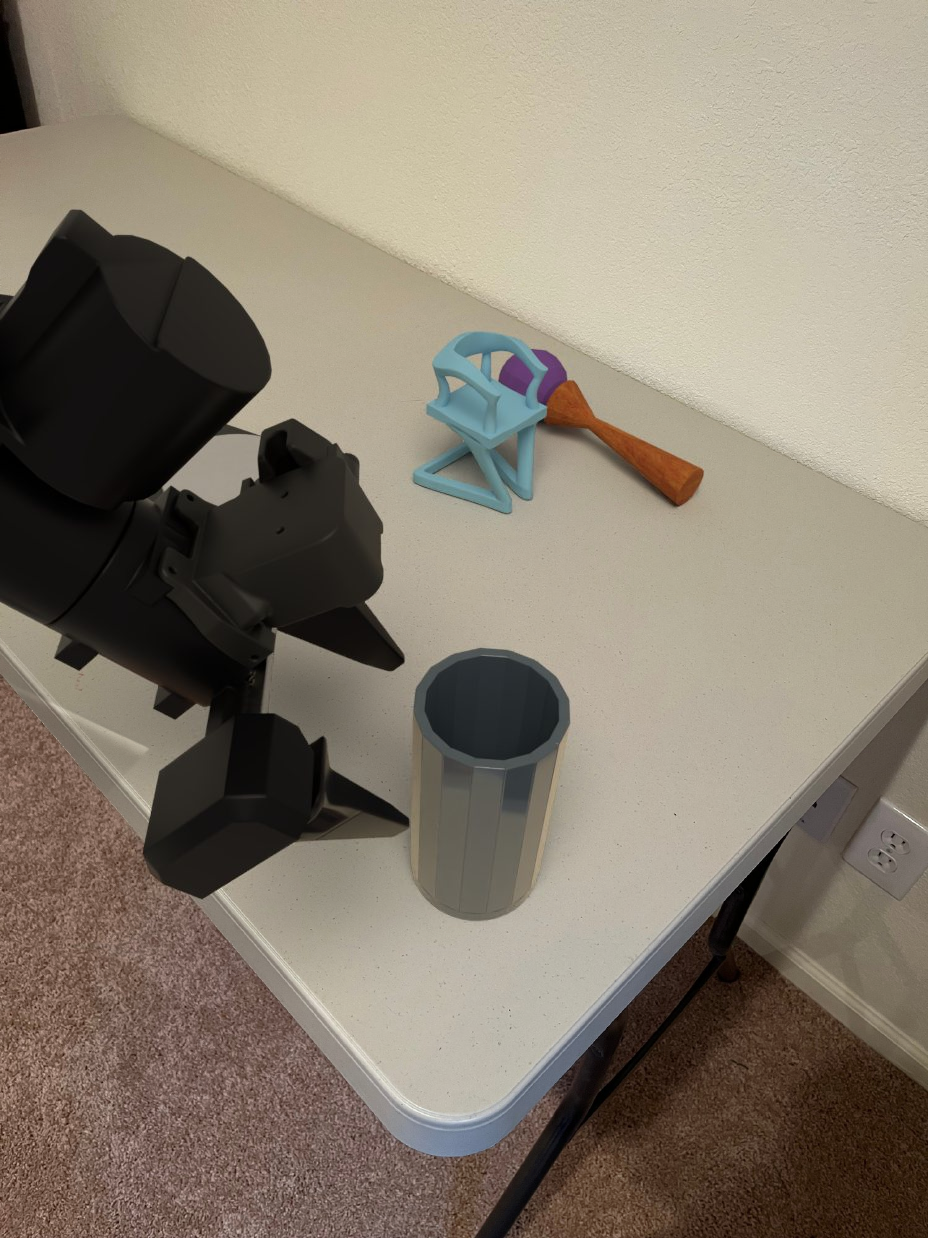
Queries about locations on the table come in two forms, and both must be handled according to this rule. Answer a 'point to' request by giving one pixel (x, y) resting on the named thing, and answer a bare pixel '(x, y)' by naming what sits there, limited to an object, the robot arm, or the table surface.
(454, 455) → the chair
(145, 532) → the robot arm
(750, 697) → the table surface
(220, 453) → the scale
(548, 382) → the kendama
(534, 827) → the cup
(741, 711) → the table surface
